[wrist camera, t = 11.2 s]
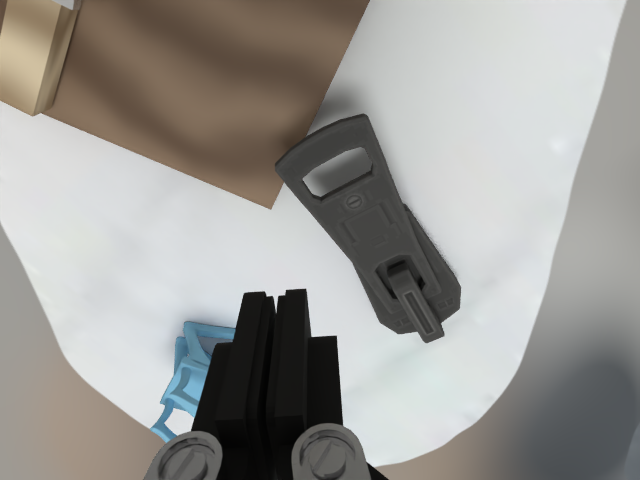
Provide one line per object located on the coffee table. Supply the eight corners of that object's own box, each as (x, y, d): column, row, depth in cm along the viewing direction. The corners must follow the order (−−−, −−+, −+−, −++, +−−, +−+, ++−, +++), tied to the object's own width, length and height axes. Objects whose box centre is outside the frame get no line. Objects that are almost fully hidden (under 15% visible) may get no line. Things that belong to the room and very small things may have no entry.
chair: (193, 305, 45) (156, 397, 35) (263, 333, 47) (248, 428, 37) (169, 352, 49) (129, 448, 38) (236, 376, 51) (215, 474, 40)
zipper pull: (371, 102, 29) (487, 340, 40) (361, 85, 35) (465, 297, 46) (260, 165, 31) (400, 375, 42) (268, 139, 37) (390, 329, 48)
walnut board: (42, -274, 24) (26, -289, 23) (393, -56, 30) (397, -58, 28) (1, 87, 34) (-11, 91, 33) (272, 202, 39) (271, 209, 38)
